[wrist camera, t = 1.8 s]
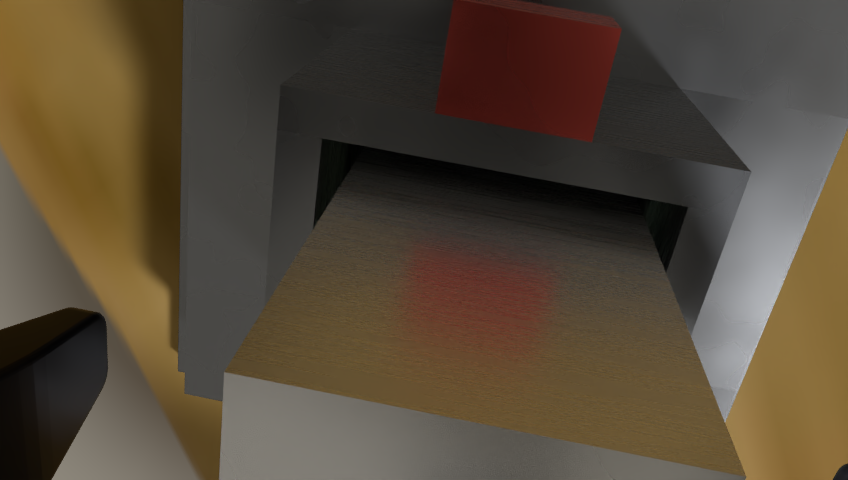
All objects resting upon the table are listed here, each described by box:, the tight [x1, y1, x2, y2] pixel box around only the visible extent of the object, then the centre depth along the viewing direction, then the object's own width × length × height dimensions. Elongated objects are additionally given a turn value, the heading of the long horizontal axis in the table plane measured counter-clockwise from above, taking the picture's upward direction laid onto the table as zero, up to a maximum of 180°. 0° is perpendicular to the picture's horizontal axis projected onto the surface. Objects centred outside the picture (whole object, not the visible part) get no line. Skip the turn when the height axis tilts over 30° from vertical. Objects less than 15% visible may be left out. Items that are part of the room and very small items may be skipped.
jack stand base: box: [178, 0, 848, 422], centre depth 14 cm, size 14×14×7 cm
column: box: [219, 146, 746, 480], centre depth 11 cm, size 4×4×11 cm
